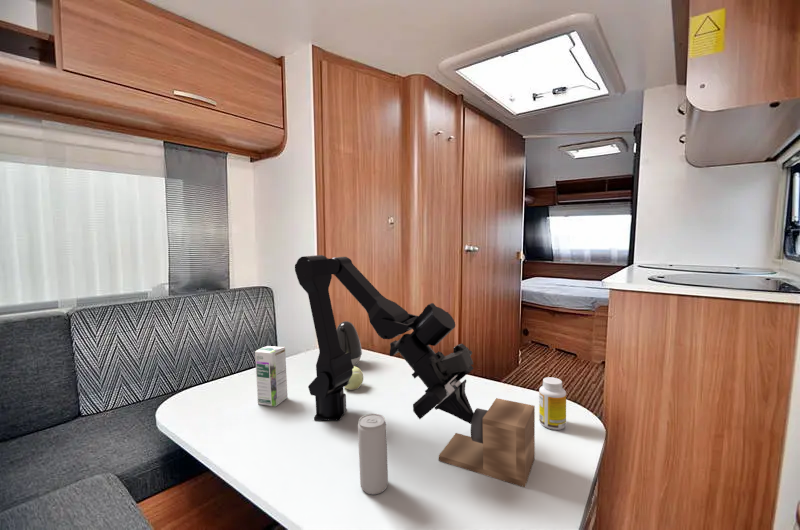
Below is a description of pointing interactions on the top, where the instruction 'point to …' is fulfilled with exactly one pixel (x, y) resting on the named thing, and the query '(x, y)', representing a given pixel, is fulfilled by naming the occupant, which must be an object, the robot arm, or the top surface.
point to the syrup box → (271, 375)
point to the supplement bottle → (552, 404)
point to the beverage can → (373, 453)
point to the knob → (477, 425)
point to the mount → (498, 444)
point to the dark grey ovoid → (349, 341)
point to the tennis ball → (355, 379)
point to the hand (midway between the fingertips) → (474, 422)
